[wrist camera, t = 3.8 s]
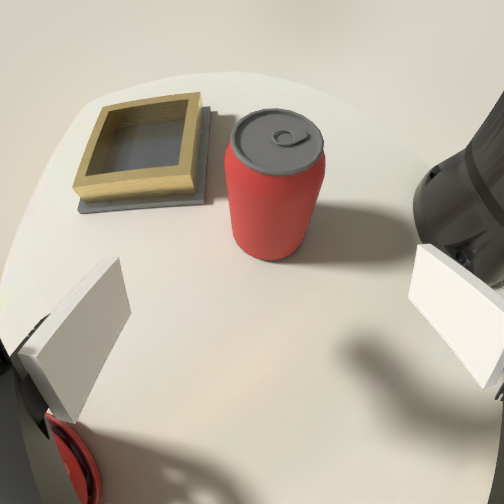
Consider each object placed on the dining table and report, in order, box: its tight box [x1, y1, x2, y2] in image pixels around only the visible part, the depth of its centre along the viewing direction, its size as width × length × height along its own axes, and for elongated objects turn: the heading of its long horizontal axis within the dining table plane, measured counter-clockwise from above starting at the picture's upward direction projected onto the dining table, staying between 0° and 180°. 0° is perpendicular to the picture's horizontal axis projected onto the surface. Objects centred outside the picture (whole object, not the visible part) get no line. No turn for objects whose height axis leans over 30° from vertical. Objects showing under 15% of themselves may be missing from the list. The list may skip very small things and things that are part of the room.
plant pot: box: [45, 413, 102, 504], centre depth 13 cm, size 13×13×12 cm
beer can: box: [224, 108, 325, 260], centre depth 22 cm, size 7×7×12 cm
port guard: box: [72, 92, 211, 214], centre depth 30 cm, size 14×14×4 cm
